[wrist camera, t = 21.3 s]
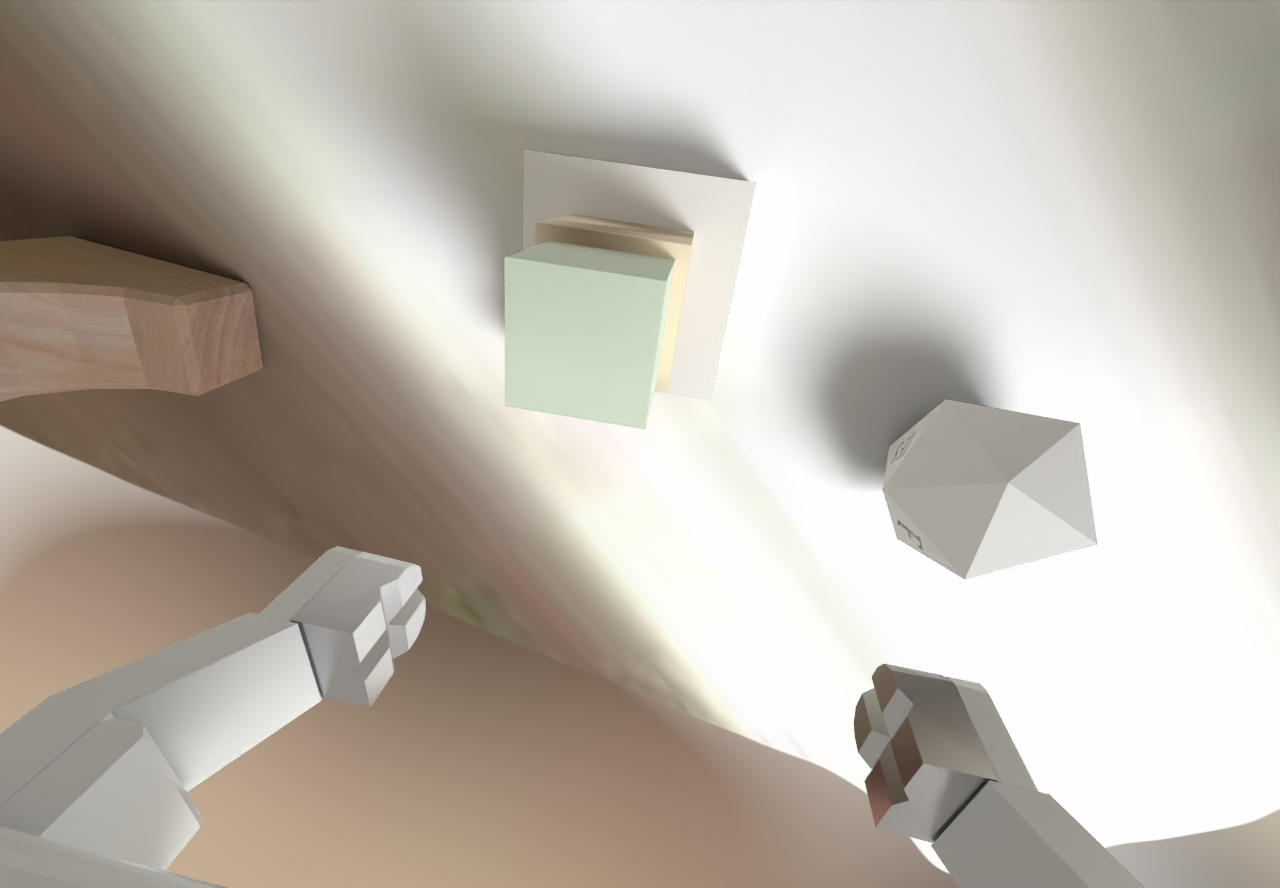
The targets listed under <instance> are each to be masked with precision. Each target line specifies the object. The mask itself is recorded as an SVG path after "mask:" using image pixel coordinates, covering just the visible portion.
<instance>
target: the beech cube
mask: <svg viewBox="0 0 1280 888" xmlns="http://www.w3.org/2000/svg"><path fill="white" fill-rule="evenodd" d="M693 237H694V232H690V231H683V230H676V229H670V228H663V227H656V226H650V225H643V224H636V223H629V222H623V221H616V220H609V219H602V218H596V217H589V216H582V215H576V214H571V215H566V216H561V217H557V218H552V219H548V220H543V221H539V222H536V230H535V246H536V245H539V244H542V243H544V242H547V241H556V242H562V243H569V244H576V245H582V246H589V247H596V248H602V249H609V250H616V251H623V252H629V253H636V254H643V255H649V256H656V257H663V258H669V259H675V265H674V272H673V278H672V285H671V291H670V298H669V305H668V311H667V318H666V325H665V331H664V338H663V344H662V351H661V358H660V364H659V371H658V378H657V382H656V386H655V391H661V392H667V391H668V385H669V380H670V374H671V368H672V363H673V357H674V352H675V346H676V340H677V334H678V328H679V322H680V316H681V310H682V304H683V298H684V292H685V286H686V279H687V273H688V267H689V261H690V255H691V249H692V243H693Z"/></svg>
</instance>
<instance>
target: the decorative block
mask: <svg viewBox="0 0 1280 888" xmlns="http://www.w3.org/2000/svg"><path fill="white" fill-rule="evenodd" d="M262 367H263V365H262V358H261V351H260V344H259V337H258V330H257V324H256V317H255V310H254V303H253V296H252V290H251V288H250V287H249V286H248V285H247V284H246V283H244V282H240V281H237V280H233V279H229V278H225V277H222V276H218V275H214V274H211V273H207V272H203V271H199V270H196V269H192V268H188V267H185V266H181V265H177V264H173V263H170V262H166V261H162V260H159V259H155V258H151V257H147V256H143V255H140V254H136V253H132V252H128V251H125V250H121V249H117V248H113V247H109V246H106V245H102V244H98V243H94V242H91V241H87V240H83V239H79V238H76V237H72V236H62V237H49V238H36V239H24V240H11V241H0V401H4V400H8V399H12V398H16V397H20V396H25V395H34V394H44V393H55V392H65V391H75V390H86V389H157V390H163V391H170V392H177V393H183V394H190V395H196V396H199V395H201V394H204V393H206V392H208V391H211V390H213V389H216V388H218V387H220V386H223V385H225V384H228V383H230V382H233V381H235V380H237V379H240V378H242V377H245V376H247V375H249V374H252V373H254V372H257V371H258V370H260V369H261V368H262Z"/></svg>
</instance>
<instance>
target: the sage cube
mask: <svg viewBox="0 0 1280 888" xmlns="http://www.w3.org/2000/svg"><path fill="white" fill-rule="evenodd" d="M674 265H675V259H669V258H663V257H656V256H649V255H643V254H636V253H629V252H623V251H616V250H609V249H602V248H596V247H589V246H582V245H576V244H569V243H562V242H556V241H547V242H544V243H542V244H539V245H536V246H533V247H530V248H528V249H525V250H522V251H519V252H516V253H514V254H511V255H508V256H505V257H504V280H505V406H508V407H514V408H520V409H526V410H532V411H538V412H544V413H550V414H556V415H562V416H569V417H575V418H581V419H587V420H593V421H599V422H605V423H611V424H617V425H623V426H629V427H635V428H641V429H645V428H646V423H647V419H648V415H649V411H650V407H651V403H652V399H653V395H654V391H655V386H656V382H657V378H658V371H659V364H660V358H661V351H662V344H663V338H664V331H665V325H666V318H667V311H668V305H669V298H670V291H671V285H672V278H673V272H674Z"/></svg>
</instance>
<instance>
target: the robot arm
mask: <svg viewBox="0 0 1280 888" xmlns="http://www.w3.org/2000/svg"><path fill="white" fill-rule="evenodd" d="M422 580H423V579H422V574H421V568H420V566H418V565H415V564H411V563H407V562H403V561H399V560H395V559H391V558H387V557H383V556H378V555H374V554H370V553H366V552H361V551H356V550H352V549H348V548H343V547H339V546H337V547H335V548H332V549H330V550H328V551H326V552H325V553H324V554H323V555H322V556H321V557H320V558H319V559H318V560H316V561H315V562H314V563H313V564H312V565H311V566H310V567H309V568H308V569H307V570H306V571H305V572H304V573H303V574H302V575H300V576H299V577H298V578H297V579H296V580H295V581H294V582H293V583H292V584H291V585H290V586H288V587H287V588H286V589H285V590H284V591H283V592H282V593H281V594H280V595H279V596H278V597H277V598H276V599H274V600H273V601H272V602H271V603H270V604H269V605H268V606H267V607H266V608H265V609H264V610H263V611H262V612H260V613H259V614H256V613H248V614H245V615H243V616H241V617H238V618H236V619H233V620H231V621H229V622H226V623H224V624H222V625H220V626H217V627H215V628H212V629H210V630H207V631H205V632H202V633H200V634H198V635H195V636H193V637H190V638H188V639H186V640H183V641H181V642H179V643H176V644H174V645H171V646H169V647H166V648H164V649H162V650H160V651H157V652H155V653H152V654H150V655H147V656H145V657H143V658H140V659H138V660H135V661H133V662H131V663H128V664H126V665H123V666H121V667H119V668H116V669H114V670H112V671H109V672H107V673H104V674H102V675H100V676H97V677H95V678H92V679H90V680H88V681H85V682H83V683H80V684H78V685H76V686H73V687H71V688H69V689H66V690H64V691H61V692H59V693H56V694H54V695H52V696H50V697H48V698H46V699H45V700H44V701H43V702H41V703H40V704H39V705H37V706H36V707H35V708H33V709H32V710H31V711H29V712H28V713H27V714H25V715H24V716H23V717H22V718H20V719H19V720H18V721H16V722H15V723H14V724H12V725H11V726H10V727H9V728H7V729H6V730H5V731H3V732H2V733H1V734H0V888H226V887H223V886H219V885H215V884H212V883H208V882H204V881H201V880H197V879H193V878H190V877H186V876H182V875H179V874H175V873H171V872H167V871H166V869H167V868H168V867H169V866H170V864H171V863H172V862H173V861H174V859H175V858H176V857H177V856H178V854H179V853H180V852H181V851H182V849H183V848H184V847H185V845H186V844H187V843H188V841H189V840H190V839H191V838H192V837H193V835H194V834H195V833H196V831H197V830H198V829H199V828H200V826H201V814H200V813H199V811H198V810H197V808H196V807H195V805H194V803H193V802H192V800H191V799H190V797H189V795H188V794H187V792H188V791H189V790H190V789H192V788H193V787H195V786H196V785H198V784H199V783H201V782H202V781H204V780H205V779H207V778H208V777H210V776H211V775H213V774H214V773H215V772H217V771H218V770H220V769H221V768H223V767H224V766H226V765H227V764H229V763H230V762H231V761H233V760H235V759H236V758H238V757H239V756H240V755H242V754H243V753H245V752H246V751H248V750H249V749H251V748H252V747H254V746H255V745H257V744H258V743H260V742H261V741H263V740H264V739H265V738H267V737H268V736H270V735H271V734H273V733H274V732H276V731H277V730H279V729H280V728H282V727H283V726H285V725H286V724H288V723H289V722H290V721H292V720H293V719H295V718H296V717H298V716H299V715H301V714H302V713H303V712H305V711H307V710H308V709H310V708H311V707H312V706H314V705H315V704H317V703H318V702H320V701H321V697H324V698H329V699H333V700H338V701H343V702H348V703H353V704H358V705H363V706H367V707H371V705H372V704H373V702H374V701H375V699H376V698H377V696H378V695H379V694H380V692H381V691H382V689H383V688H384V686H385V685H386V683H387V682H388V680H389V679H390V677H391V676H392V674H393V673H394V664H393V659H394V658H396V657H398V656H399V655H401V654H403V653H405V652H406V651H408V650H409V649H410V648H411V646H412V644H413V643H414V641H415V640H416V638H417V637H418V635H419V632H420V629H421V627H422V624H423V621H424V618H425V611H426V604H425V597H424V596H423V595H422V594H421V593H420V592H419V590H418V589H417V587H418V586H419V584H420V583H421V582H422ZM872 680H873V683H874V687H875V688H874V689H871V690H869V691H867V692H865V693H863V694H862V695H861V697H860V700H859V702H858V704H857V706H856V711H855V718H854V731H855V740H856V744H857V749H858V753H859V754H860V755H861V757H862V758H863V759H864V760H865V762H866V763H867V764H868V765H869V767H870V768H871V770H870V772H869V774H868V776H867V778H866V780H865V785H866V789H867V793H868V797H869V802H870V806H871V810H872V814H873V819H874V823H875V827H876V828H879V829H883V830H887V831H890V832H894V833H898V834H902V835H906V836H909V837H913V838H917V839H920V840H924V841H928V842H931V843H933V844H932V845H931V846H932V847H933V849H934V850H935V852H936V853H937V855H938V856H939V858H940V859H941V861H942V862H943V864H944V865H945V867H946V868H947V870H948V871H949V873H950V874H951V875H952V877H953V879H954V880H955V881H956V883H957V884H958V886H959V888H1145V887H1144V886H1143V885H1142V884H1141V883H1140V882H1139V881H1138V880H1137V879H1136V878H1135V877H1134V876H1133V875H1131V874H1130V872H1128V870H1127V869H1125V868H1124V867H1123V866H1122V865H1121V864H1120V863H1119V862H1118V861H1117V860H1116V859H1115V858H1114V857H1113V856H1112V855H1111V854H1110V853H1109V852H1108V851H1107V850H1106V849H1105V848H1104V847H1103V846H1102V845H1101V844H1100V843H1099V842H1098V841H1097V840H1096V839H1095V838H1094V837H1093V836H1092V835H1091V834H1089V833H1088V832H1087V831H1086V830H1085V829H1084V828H1083V827H1082V826H1081V825H1080V824H1079V823H1078V822H1077V821H1076V820H1075V819H1074V818H1073V817H1072V816H1071V815H1070V814H1069V813H1068V812H1067V811H1066V810H1065V809H1064V808H1063V807H1062V806H1061V805H1060V804H1059V803H1058V802H1057V801H1056V800H1054V799H1053V798H1052V797H1051V796H1050V795H1049V794H1046V793H1042V792H1039V791H1038V790H1037V788H1036V786H1035V784H1034V782H1033V780H1032V778H1031V776H1030V774H1029V772H1028V770H1027V768H1026V766H1025V764H1024V762H1023V760H1022V758H1021V757H1020V755H1019V753H1018V751H1017V749H1016V747H1015V745H1014V743H1013V741H1012V739H1011V737H1010V735H1009V733H1008V731H1007V729H1006V727H1005V725H1004V723H1003V721H1002V719H1001V717H1000V715H999V713H998V712H997V710H996V708H995V706H994V704H993V702H992V700H991V698H990V696H989V694H988V692H987V691H986V690H985V689H984V688H983V687H982V686H981V685H980V684H979V683H974V682H969V681H964V680H960V679H955V678H950V677H944V676H942V675H937V674H932V673H928V672H923V671H918V670H913V669H908V668H903V667H898V666H893V665H888V664H883V665H881V666H879V667H877V669H876V671H875V672H874V674H873V676H872Z"/></svg>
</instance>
